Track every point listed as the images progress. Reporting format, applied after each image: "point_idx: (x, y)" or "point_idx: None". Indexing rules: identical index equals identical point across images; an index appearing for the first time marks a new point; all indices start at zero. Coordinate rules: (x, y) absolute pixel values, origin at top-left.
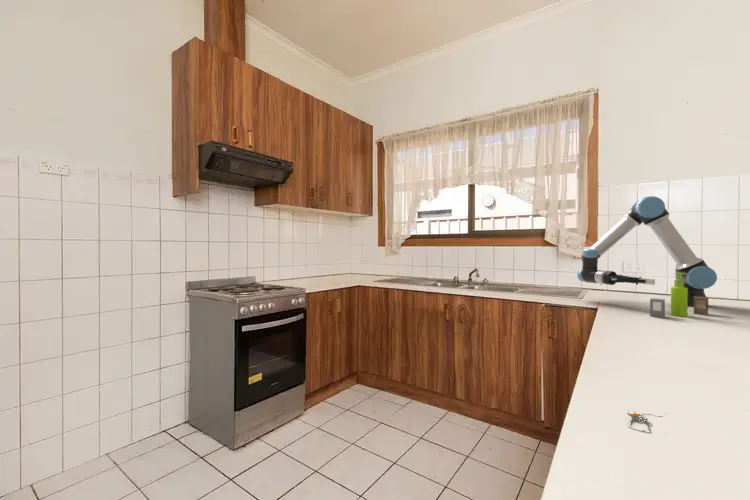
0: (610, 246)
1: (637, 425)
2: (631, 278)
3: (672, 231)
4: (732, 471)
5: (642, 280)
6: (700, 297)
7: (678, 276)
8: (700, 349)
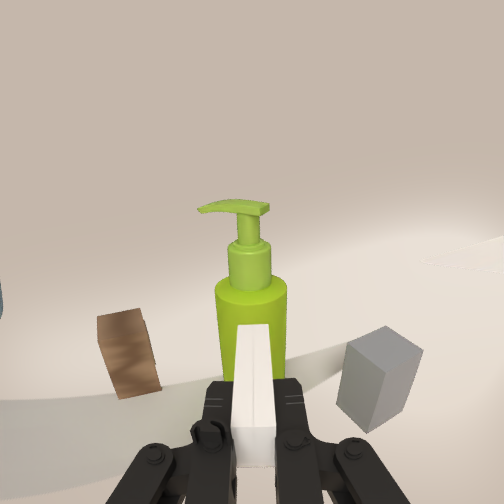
0: None
1: None
2: (377, 457)
3: None
4: None
5: (301, 394)
6: (128, 322)
7: (259, 223)
8: (489, 259)
